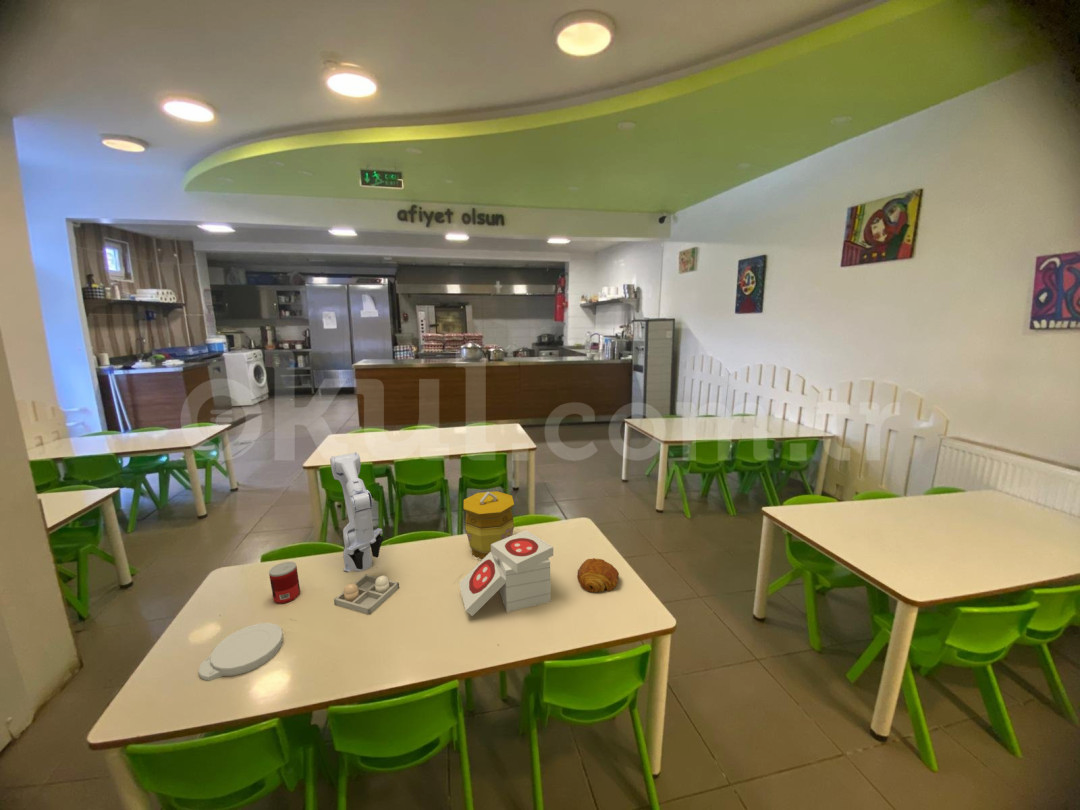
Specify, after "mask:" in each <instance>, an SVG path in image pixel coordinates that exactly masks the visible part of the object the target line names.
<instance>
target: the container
mask: <svg viewBox="0 0 1080 810" xmlns="http://www.w3.org/2000/svg"><path fill="white" fill-rule="evenodd" d="M514 506H515V503H514V499H513V495H510V494H508V493H504V492H501V491H484V492H477V493H474V494H473V495H471V496H468V497H467V498H464V499H463V510H464V511H465V534H466V536H467V541H468V544H469V546H470V549H471V555H472V556H473V557H476V558H478V559H480V560H481V561H482V560H483V559H484V558H485V557H486V556H487V555H488V554H489V553H490V552H491V544H493V543H495V542H498V541H500V540H503V539H505V538H508V537H510V536H512V535H514V534H513V533H514V528H515V523H514V516H513V512H512V509H513V507H514Z"/></svg>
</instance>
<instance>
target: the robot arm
mask: <svg viewBox="0 0 1080 810" xmlns="http://www.w3.org/2000/svg"><path fill="white" fill-rule="evenodd" d="M329 460H330V468H331V474H332V477H333V479H334V480H337V481H339V483H340V486H341V488H342V493H343V498H344V502H345V503H344V504H345V507H346V509H345V510H346V513H347V518H348V523H347V525H345V526H344V528H343V530H342V535H343V537H342V538H343V544H344V549H343V553H342V554H343V564H344V568H342V569H343V571H344V572H348V573H349V572H351V571H354V572H362V571H363V572H364V571H366V570H368V569H370V568H371V567H372V566H373V560H372V557H373V558H379V556H380V551H381V550H380V549H381V546H382V543H383V542H384V541H385V540H384V536H383V533H384V532H383V529H382V528H379V527H378V528H376V529H374V524H373V516H372V515H373V513H372V508H373V498H372V494H371V492H370V491H369V490H368V489H367V487H366V486H365V482H364V480H363V479H361V478H359V475H360V472H361V465H362V464H361V457H360V454H359V453H358V452H357V451H355V452H353V453H345V454H341V455H335V456H331V457H330V459H329Z"/></svg>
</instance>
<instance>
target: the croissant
mask: <svg viewBox="0 0 1080 810" xmlns="http://www.w3.org/2000/svg"><path fill="white" fill-rule="evenodd" d="M619 575H620V573H619V571H618V569H617V568H616V567H614V566H613V564H612V563H610V562H607V561H606V560H604V559H602V558H595V557H594V558H587V559H586V560H584V562H582V564H581V565H580V566H579V568H578V569H577V576H576V577H577V581H578V583H579V585H580V586H581V588H583V590H585V591H586V592H589V593H601V592H603V591H604V592H610V591H612V590H613V589H615V588H616V586H617V585H618V583H619Z"/></svg>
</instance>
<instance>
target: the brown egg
mask: <svg viewBox="0 0 1080 810" xmlns="http://www.w3.org/2000/svg"><path fill="white" fill-rule="evenodd" d="M354 583H355V582H350V583H348V584H347V585H345V586H344V589H343V592H344V597H345V600H346V601H349V602H353V601H354V600H355V599H356V598H358V597H359V590H358V586H357V585H356V584H354Z"/></svg>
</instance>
